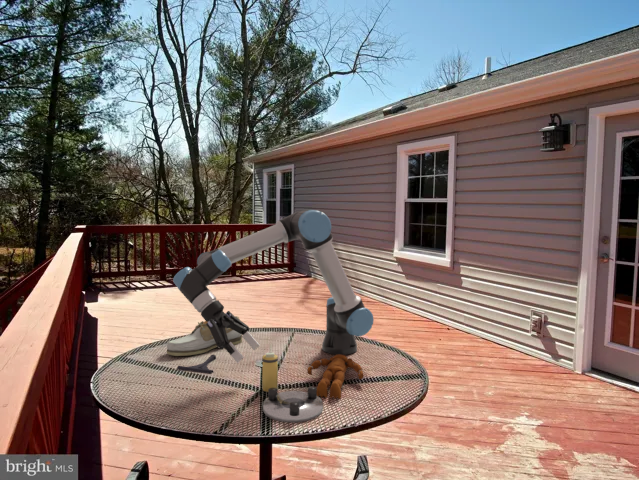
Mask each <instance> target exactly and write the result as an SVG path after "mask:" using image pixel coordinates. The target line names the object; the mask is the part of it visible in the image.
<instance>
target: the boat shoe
mask: <svg viewBox="0 0 639 480" xmlns="http://www.w3.org/2000/svg"><path fill="white" fill-rule="evenodd" d="M234 316H235V315H234ZM235 317H236V318H238V319H239V320H240V317H239V316H235ZM230 318H231V317H230ZM207 323H208V322H207V321H206V320H204V321H203V320H201V321H200V322H199V321H198V322H197V325H195V327H194V329H193V330H192V331H191V333H189V334H187V335H186V336H185V335H184V336H183V337H179V338H176V339H173V340H169V341H168V343H166V354H167V355H169V356H175V357H179V356H180V357H181V356H183V357H184V356H193V355H194V356H195V355H200V354H201V355H202V354H204V353H207V352H209V351H211V350H213V349H215V348H218V347H217V344H216V342H215V340H214V338H213V336H212V333H211V331H210V329H209V328H208V326H207V325H206V324H207ZM225 330H226V333H227V337H228V341H229V343H230V342H231V343H232V344H233V345H234V346H236V345H239V344H242V343H243V337H242V336H243V335H242V334H240V333H238V332H236V331H234V330H232V329H230V328H225ZM219 343H220V342H219Z"/></svg>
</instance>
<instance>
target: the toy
mask: <svg viewBox="0 0 639 480" xmlns="http://www.w3.org/2000/svg"><path fill="white" fill-rule="evenodd" d="M321 366H322V367H326V370H325V371H324V372H323V373H322V379H320V381H319V382H318V384H317V387H316V388H317V396H318V397H319V398H323V397H324V399H325V398H328V396H329V398H330V399H338V400H341V398H342V390H341V389H342V387H343V383H344V381H345V376H346V372H347V369H348V368H350V369H353V371H354V372H355V373H357V376H358V379H359V380H362V379H364V377H365V376H364V375H365V374H364V372H363V369H362V367H361V365H360V364H358V363H357V362H355V361H354V360H353V359H352V358H348V357H347V355H340V354H338V355H336V354H334V356H331V357H330V358H329V359H327V358H324V357H323V358H321V359H320V360H319V359H318V360H317V359H316V360H314V361H313V362H312V363H311V364H310V366H308V367H307V371H306V372H307V375H310V376H312V375H313V373H312V372H313V370H317V369H319V368H320V367H321ZM331 382H332V383H331ZM328 388H330V389H329V391H328Z"/></svg>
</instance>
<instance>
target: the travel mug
mask: <svg viewBox="0 0 639 480" xmlns="http://www.w3.org/2000/svg"><path fill="white" fill-rule="evenodd" d="M261 358H262V360H261V362H262V365H261V366H262V373H261V374H262V378H261V381H262V389H263V390H262V391H263V392H267V393H268V389H269V388H277V389H278V376H279V375H278V372H279V371H278V370H279V369H278V368H279V366H278V361H279V357H278V355H277V354H275V352H265V354H264V355H262V357H261Z"/></svg>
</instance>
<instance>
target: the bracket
mask: <svg viewBox="0 0 639 480" xmlns="http://www.w3.org/2000/svg"><path fill="white" fill-rule="evenodd" d="M215 360H217V356H216V354H211V355H210V356H209V357H208V358H207V359H206V360H205V361H204V362H202V363H199V364H196V365H190V366H189V365H188V366H184V365H183V366H182V365H177V368H176V369H177V370H178V369H179V370H180V371H185V372H187V371H188V372H194V373H203V374H212V373H214V370H213V369H209V368H208V365H209V364H211V363H213V362H214V361H215Z"/></svg>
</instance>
